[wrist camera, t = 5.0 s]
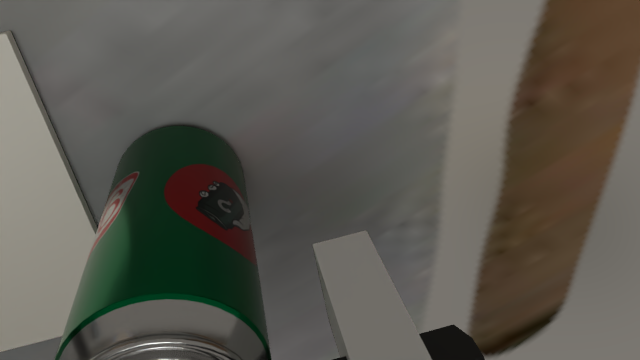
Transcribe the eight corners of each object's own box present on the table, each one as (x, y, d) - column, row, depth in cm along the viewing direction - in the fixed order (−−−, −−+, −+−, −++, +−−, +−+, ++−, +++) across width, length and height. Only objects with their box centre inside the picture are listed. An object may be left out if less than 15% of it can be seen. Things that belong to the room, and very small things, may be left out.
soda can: (115, 116, 21) (26, 331, 10) (247, 123, 22) (288, 323, 12) (119, 229, 23) (49, 500, 13) (239, 230, 24) (267, 480, 14)
